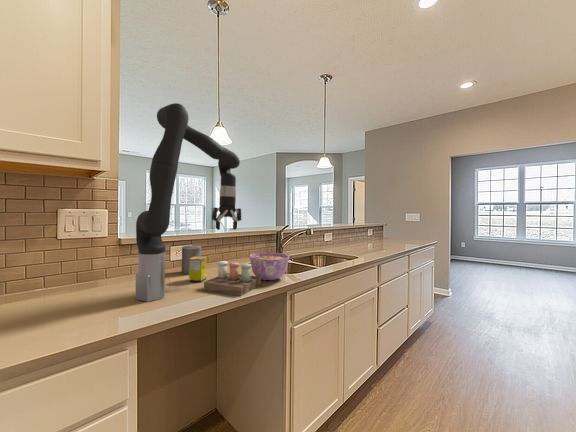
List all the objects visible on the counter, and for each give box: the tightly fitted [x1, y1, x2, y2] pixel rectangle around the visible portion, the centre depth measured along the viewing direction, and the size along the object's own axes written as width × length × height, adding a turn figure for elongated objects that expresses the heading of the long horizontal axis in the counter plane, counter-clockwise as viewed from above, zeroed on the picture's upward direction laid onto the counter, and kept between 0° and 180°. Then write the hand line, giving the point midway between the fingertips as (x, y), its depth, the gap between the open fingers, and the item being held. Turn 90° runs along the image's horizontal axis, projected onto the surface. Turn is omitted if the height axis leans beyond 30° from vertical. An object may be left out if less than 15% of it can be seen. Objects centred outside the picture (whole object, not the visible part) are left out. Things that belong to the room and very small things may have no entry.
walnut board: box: [203, 272, 262, 297], centre depth 121 cm, size 18×18×4 cm
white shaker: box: [217, 260, 229, 279], centre depth 123 cm, size 4×4×7 cm
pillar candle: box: [181, 244, 202, 275], centre depth 145 cm, size 10×10×15 cm
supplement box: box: [188, 256, 207, 283], centre depth 130 cm, size 6×6×11 cm
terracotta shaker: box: [228, 261, 240, 280], centre depth 121 cm, size 4×4×7 cm
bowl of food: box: [249, 252, 290, 281], centre depth 137 cm, size 20×20×12 cm
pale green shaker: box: [240, 263, 252, 282], centre depth 119 cm, size 4×4×7 cm
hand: (226, 229), depth 131 cm, fingers open, 8 cm apart
